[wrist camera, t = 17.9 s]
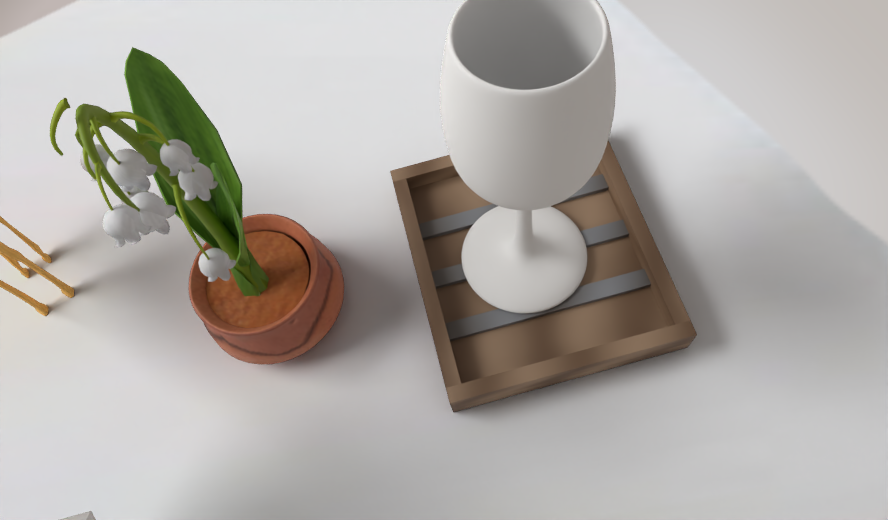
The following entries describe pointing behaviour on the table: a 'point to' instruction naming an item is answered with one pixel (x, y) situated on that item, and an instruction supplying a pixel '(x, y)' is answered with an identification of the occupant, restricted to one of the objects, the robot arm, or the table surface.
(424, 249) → the wooden tray
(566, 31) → the wineglass
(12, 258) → the yellow flower sprig
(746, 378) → the table surface
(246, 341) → the potted flower
